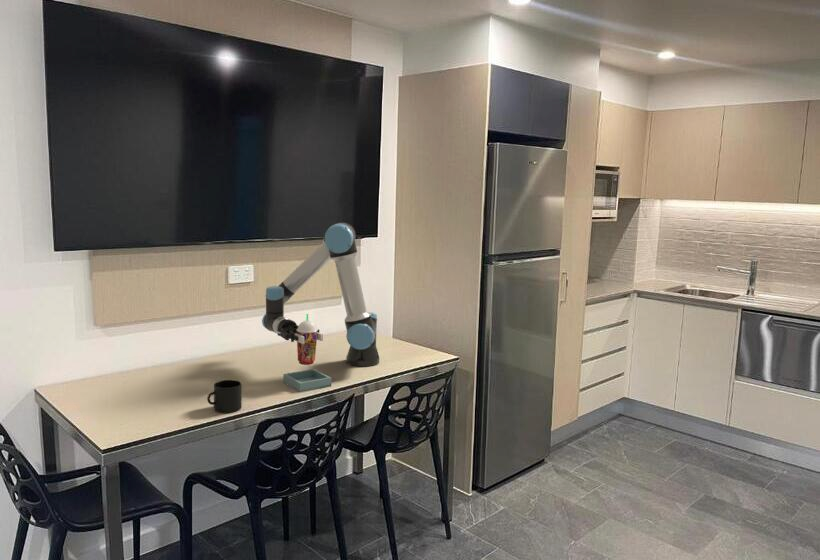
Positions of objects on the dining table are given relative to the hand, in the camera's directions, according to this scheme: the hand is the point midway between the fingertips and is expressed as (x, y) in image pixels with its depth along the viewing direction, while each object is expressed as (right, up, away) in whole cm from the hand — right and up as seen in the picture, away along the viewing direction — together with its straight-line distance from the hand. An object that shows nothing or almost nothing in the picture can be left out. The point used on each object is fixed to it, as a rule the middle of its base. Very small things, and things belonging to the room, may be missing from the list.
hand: (312, 338), depth 243 cm
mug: (-28, -23, -24) cm, 43 cm away
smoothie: (-3, -10, +5) cm, 12 cm away
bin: (-3, -19, +7) cm, 20 cm away
